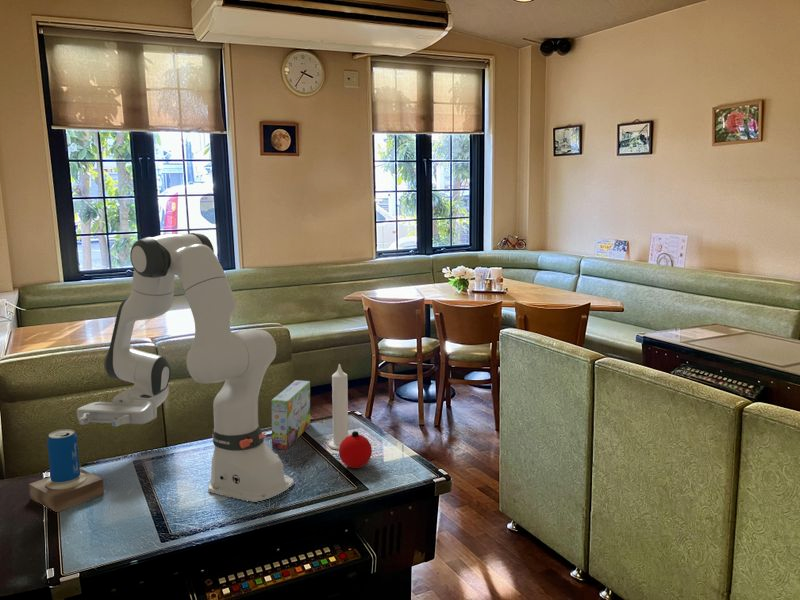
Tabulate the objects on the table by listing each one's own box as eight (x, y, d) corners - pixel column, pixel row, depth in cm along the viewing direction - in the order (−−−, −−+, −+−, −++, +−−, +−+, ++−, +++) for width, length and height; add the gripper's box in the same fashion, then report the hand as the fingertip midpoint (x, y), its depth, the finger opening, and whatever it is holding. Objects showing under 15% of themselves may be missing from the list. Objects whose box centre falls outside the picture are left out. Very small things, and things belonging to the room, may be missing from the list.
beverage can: (68, 486, 154) (64, 439, 152) (44, 484, 155) (40, 437, 153) (86, 475, 160) (82, 429, 158) (63, 473, 161) (59, 427, 159)
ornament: (333, 464, 177) (333, 429, 176) (362, 457, 182) (362, 423, 180) (348, 476, 170) (347, 440, 168) (377, 468, 174) (377, 434, 173)
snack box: (289, 450, 187) (287, 400, 184) (271, 449, 188) (269, 399, 185) (311, 424, 208) (310, 379, 205) (295, 423, 209) (294, 379, 206)
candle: (324, 445, 191) (322, 363, 187) (342, 438, 195) (341, 359, 191) (338, 452, 186) (337, 368, 181) (357, 445, 190) (356, 364, 186)
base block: (104, 493, 160) (102, 477, 159) (55, 513, 150) (53, 495, 149) (78, 481, 166) (77, 465, 166) (30, 499, 157) (28, 482, 156)
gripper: (94, 394, 183) (61, 409, 169) (160, 396, 179) (131, 412, 166) (96, 415, 184) (63, 432, 170) (162, 418, 180) (133, 436, 167)
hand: (97, 422), depth 168 cm, fingers open, 8 cm apart
